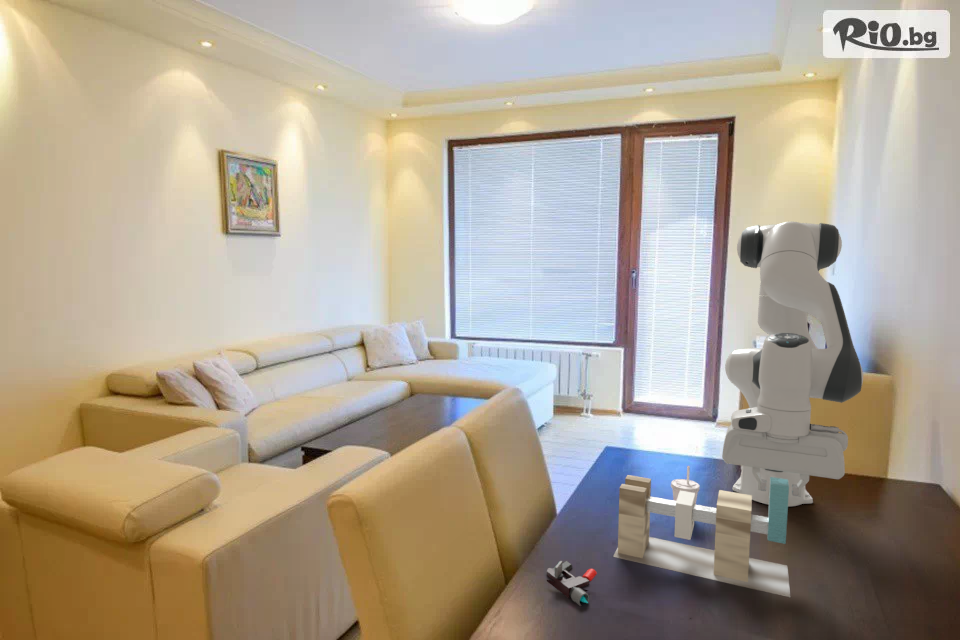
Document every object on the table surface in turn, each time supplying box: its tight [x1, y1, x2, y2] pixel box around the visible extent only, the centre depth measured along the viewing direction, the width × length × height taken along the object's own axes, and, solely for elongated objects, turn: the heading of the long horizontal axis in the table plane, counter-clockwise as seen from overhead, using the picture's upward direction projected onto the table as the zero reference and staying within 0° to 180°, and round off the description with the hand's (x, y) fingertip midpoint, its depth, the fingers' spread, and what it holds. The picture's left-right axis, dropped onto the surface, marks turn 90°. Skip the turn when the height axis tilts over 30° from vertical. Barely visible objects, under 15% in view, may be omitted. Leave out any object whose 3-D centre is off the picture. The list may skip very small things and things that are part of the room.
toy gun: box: [546, 560, 598, 607], centre depth 107 cm, size 10×12×5 cm
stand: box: [613, 474, 791, 598], centre depth 113 cm, size 12×32×15 cm, turn 64°
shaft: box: [646, 477, 789, 545], centre depth 112 cm, size 4×27×11 cm, turn 64°
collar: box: [673, 491, 695, 541], centre depth 114 cm, size 7×3×7 cm, turn 154°
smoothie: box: [670, 465, 701, 505], centre depth 133 cm, size 6×6×14 cm
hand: (778, 492), depth 106 cm, fingers open, 4 cm apart
